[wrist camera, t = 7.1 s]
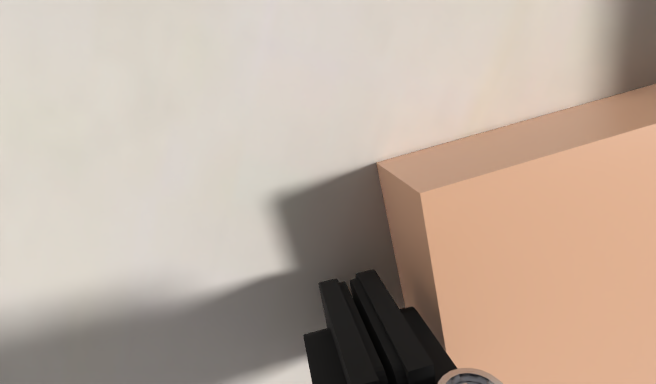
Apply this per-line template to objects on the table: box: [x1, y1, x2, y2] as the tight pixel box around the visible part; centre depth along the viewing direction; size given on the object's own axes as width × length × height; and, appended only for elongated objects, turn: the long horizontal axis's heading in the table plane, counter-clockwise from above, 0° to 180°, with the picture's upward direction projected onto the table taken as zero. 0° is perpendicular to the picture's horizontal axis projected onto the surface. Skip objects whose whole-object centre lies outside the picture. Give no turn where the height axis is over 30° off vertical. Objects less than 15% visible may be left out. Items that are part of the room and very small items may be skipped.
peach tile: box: [376, 84, 656, 384], centre depth 12 cm, size 10×14×4 cm
